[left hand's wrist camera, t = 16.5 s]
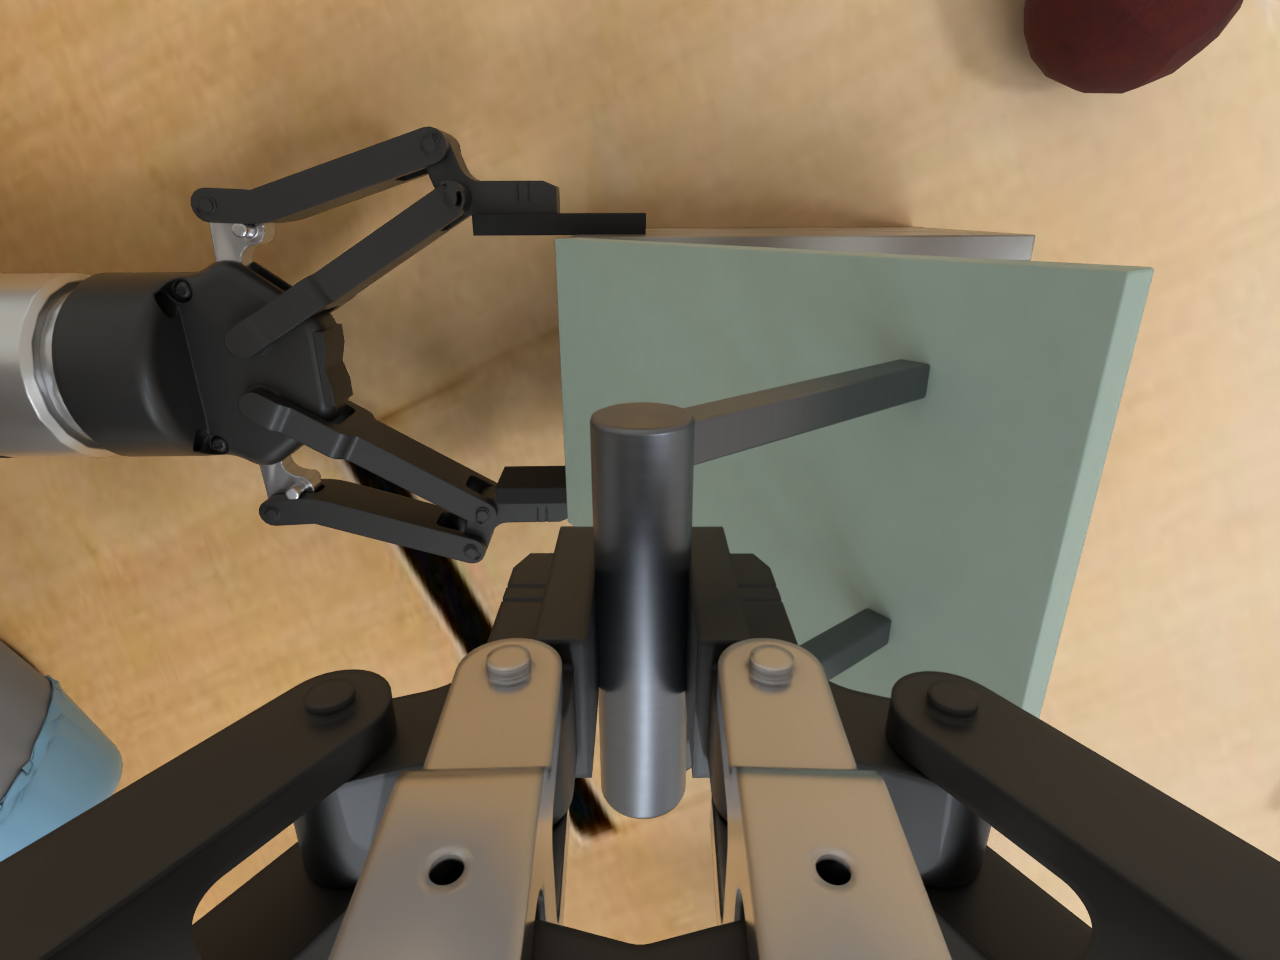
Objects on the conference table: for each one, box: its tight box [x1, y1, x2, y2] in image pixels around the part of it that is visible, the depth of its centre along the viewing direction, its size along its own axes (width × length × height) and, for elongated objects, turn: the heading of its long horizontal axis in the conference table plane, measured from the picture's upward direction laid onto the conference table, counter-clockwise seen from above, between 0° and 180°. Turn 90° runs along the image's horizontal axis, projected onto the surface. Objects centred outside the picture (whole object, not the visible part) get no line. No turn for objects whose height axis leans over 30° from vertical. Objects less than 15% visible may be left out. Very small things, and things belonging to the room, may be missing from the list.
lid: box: [555, 238, 1154, 819], centre depth 17 cm, size 17×10×9 cm
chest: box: [570, 227, 1035, 261], centre depth 31 cm, size 16×10×11 cm, turn 90°
